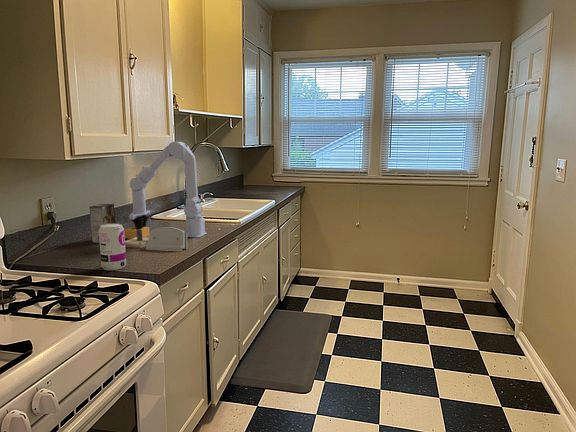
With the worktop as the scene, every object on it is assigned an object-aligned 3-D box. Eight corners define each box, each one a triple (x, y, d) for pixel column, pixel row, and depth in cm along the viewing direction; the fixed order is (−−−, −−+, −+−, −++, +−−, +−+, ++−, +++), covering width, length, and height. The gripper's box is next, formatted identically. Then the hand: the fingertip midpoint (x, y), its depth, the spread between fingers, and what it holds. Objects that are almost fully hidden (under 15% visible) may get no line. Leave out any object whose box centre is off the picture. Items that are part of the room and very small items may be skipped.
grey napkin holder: (144, 249, 180) (147, 225, 182) (150, 250, 185) (153, 227, 186) (182, 251, 176) (185, 226, 178) (187, 252, 181) (190, 228, 183)
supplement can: (129, 264, 158) (127, 223, 156) (121, 270, 150) (118, 227, 148) (106, 264, 158) (103, 223, 156) (97, 271, 150) (94, 227, 148)
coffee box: (104, 238, 202) (101, 203, 199) (117, 238, 201) (114, 203, 198) (91, 242, 193) (88, 206, 191) (105, 243, 192) (102, 206, 189)
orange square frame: (134, 234, 209) (134, 226, 208) (149, 235, 207) (149, 227, 206) (124, 238, 201) (124, 229, 201) (140, 239, 199) (139, 230, 199)
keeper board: (138, 239, 199) (138, 226, 197) (158, 240, 196) (158, 226, 195) (120, 246, 185) (119, 232, 184) (141, 247, 183) (140, 233, 182)
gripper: (140, 201, 213) (142, 228, 215) (122, 205, 199) (124, 234, 201) (153, 201, 211) (155, 229, 213) (136, 205, 197) (138, 235, 199)
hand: (141, 232), depth 207 cm, fingers closed on orange square frame
